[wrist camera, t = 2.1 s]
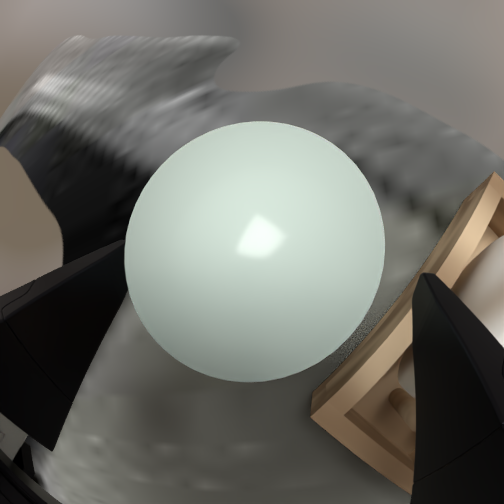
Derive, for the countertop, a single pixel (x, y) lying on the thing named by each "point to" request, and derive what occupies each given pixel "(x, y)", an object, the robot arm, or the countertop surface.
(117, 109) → the countertop surface
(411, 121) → the countertop surface
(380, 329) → the dish rack
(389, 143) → the countertop surface
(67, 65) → the countertop surface
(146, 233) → the pale green domed post
